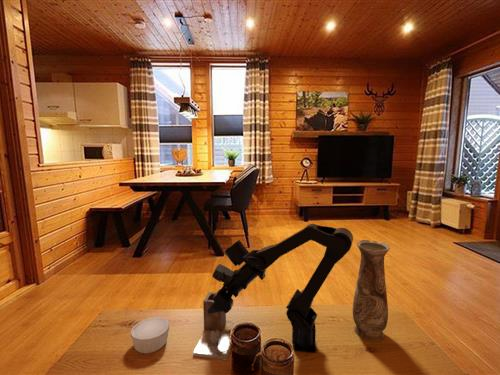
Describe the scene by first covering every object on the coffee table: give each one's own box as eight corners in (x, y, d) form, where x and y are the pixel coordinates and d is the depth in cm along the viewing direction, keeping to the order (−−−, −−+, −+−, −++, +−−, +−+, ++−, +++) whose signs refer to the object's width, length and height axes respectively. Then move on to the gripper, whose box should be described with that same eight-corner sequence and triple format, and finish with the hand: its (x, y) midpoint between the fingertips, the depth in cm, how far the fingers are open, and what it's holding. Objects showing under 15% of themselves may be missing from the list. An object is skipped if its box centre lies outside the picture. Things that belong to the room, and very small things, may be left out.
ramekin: (133, 336, 85) (132, 320, 84) (169, 328, 89) (168, 314, 88) (129, 360, 74) (128, 343, 74) (170, 351, 78) (169, 334, 77)
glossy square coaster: (234, 336, 84) (234, 322, 84) (226, 360, 74) (226, 343, 74) (204, 333, 86) (204, 319, 85) (193, 355, 76) (192, 339, 75)
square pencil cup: (225, 320, 93) (225, 293, 92) (221, 331, 87) (220, 302, 86) (209, 318, 94) (209, 292, 93) (203, 329, 88) (203, 301, 87)
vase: (386, 327, 88) (390, 241, 85) (387, 348, 79) (392, 251, 76) (353, 320, 93) (355, 237, 90) (350, 338, 83) (354, 246, 80)
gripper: (233, 249, 96) (205, 275, 99) (219, 270, 78) (185, 301, 81) (254, 271, 96) (225, 297, 99) (245, 297, 78) (210, 328, 81)
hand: (212, 304), depth 90 cm, fingers open, 9 cm apart
